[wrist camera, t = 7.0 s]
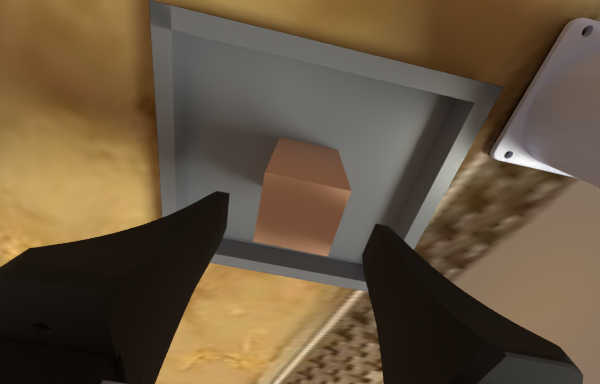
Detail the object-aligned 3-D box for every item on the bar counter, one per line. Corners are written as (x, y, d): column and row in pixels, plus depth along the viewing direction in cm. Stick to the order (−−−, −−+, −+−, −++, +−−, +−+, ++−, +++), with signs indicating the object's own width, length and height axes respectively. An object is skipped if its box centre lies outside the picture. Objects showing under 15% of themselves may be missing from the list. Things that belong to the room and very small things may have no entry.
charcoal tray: (474, 83, 15) (503, 87, 13) (380, 272, 22) (388, 295, 20) (175, 10, 14) (149, 0, 12) (179, 234, 21) (164, 254, 19)
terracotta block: (338, 150, 17) (351, 191, 11) (322, 200, 18) (327, 256, 13) (279, 136, 16) (264, 172, 11) (270, 189, 18) (253, 241, 13)
